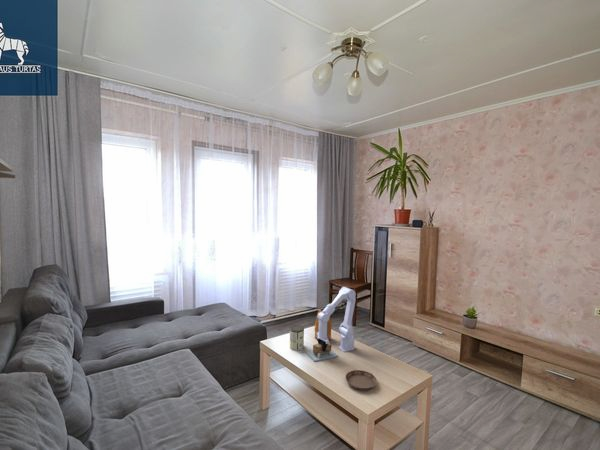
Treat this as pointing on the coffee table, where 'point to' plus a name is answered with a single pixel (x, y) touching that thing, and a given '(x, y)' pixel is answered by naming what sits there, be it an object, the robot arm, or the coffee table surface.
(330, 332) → the coffee package
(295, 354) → the coffee table surface
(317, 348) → the walnut bar
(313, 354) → the peg board
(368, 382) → the plant saucer
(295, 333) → the coffee can
